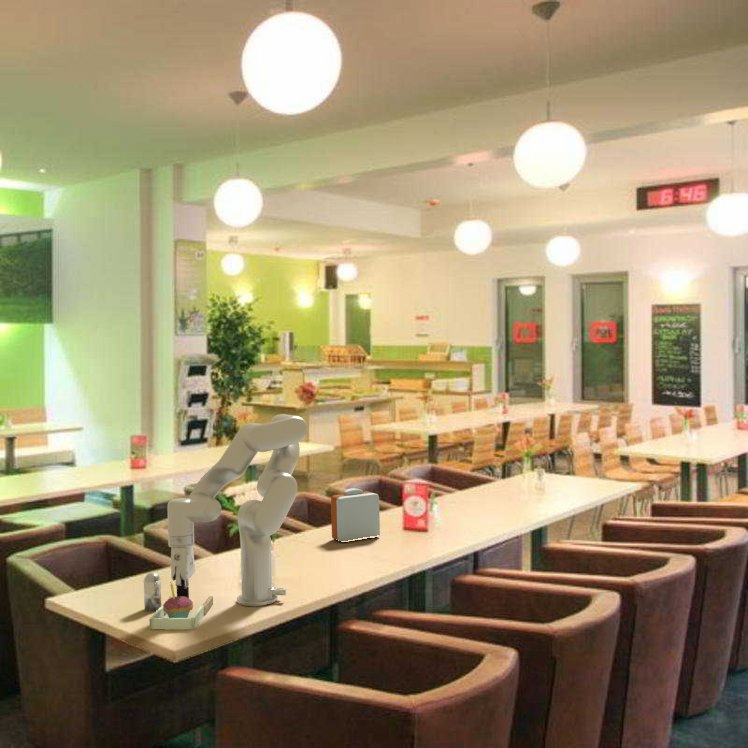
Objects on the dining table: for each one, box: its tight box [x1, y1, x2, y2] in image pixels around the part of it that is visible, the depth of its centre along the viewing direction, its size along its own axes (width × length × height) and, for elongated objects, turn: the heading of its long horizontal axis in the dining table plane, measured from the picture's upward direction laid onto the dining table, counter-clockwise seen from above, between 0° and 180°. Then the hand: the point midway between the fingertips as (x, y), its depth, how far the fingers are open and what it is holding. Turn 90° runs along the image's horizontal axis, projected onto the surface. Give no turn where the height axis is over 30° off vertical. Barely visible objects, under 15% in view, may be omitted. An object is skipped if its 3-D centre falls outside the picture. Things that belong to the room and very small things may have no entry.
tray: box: [148, 604, 205, 630], centre depth 241 cm, size 13×12×3 cm
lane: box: [161, 595, 214, 617], centre depth 253 cm, size 13×11×2 cm
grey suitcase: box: [330, 487, 381, 542], centre depth 341 cm, size 18×9×21 cm, turn 120°
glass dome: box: [143, 572, 162, 612], centre depth 254 cm, size 5×5×11 cm
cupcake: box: [163, 581, 194, 618], centre depth 242 cm, size 9×8×12 cm
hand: (183, 600), depth 248 cm, fingers closed
